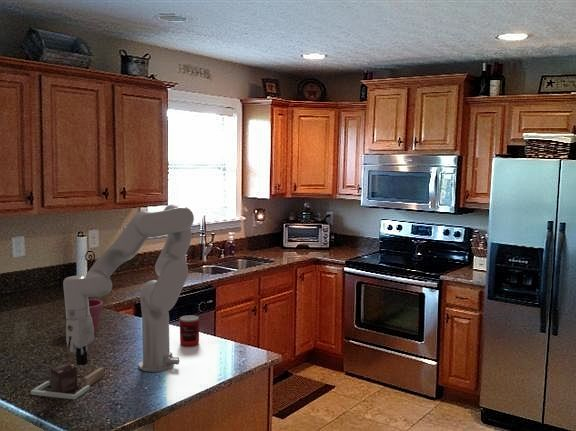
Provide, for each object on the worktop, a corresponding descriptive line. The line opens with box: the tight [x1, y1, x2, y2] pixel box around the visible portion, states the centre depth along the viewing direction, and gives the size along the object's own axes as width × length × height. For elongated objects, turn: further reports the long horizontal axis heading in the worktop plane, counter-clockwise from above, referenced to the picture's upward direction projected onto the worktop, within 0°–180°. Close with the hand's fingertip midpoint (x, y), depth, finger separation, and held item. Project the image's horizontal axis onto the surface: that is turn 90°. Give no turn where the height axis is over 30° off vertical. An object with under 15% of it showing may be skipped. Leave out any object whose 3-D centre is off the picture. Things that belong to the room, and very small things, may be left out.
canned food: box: [179, 314, 200, 348], centre depth 233 cm, size 8×8×11 cm
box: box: [50, 363, 78, 393], centre depth 187 cm, size 6×6×7 cm
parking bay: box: [30, 380, 91, 400], centre depth 185 cm, size 16×8×1 cm, turn 77°
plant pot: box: [88, 298, 104, 334], centre depth 248 cm, size 14×14×13 cm
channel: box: [70, 364, 105, 388], centre depth 195 cm, size 13×10×3 cm
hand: (82, 364), depth 195 cm, fingers closed
